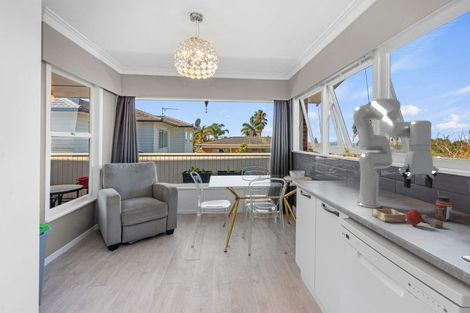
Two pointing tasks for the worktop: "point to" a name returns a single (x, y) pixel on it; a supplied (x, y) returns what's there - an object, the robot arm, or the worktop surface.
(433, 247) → the worktop surface
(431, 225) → the clip
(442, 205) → the supplement bottle
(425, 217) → the clip
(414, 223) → the onion
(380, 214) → the wooden tray
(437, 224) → the gray square bar
